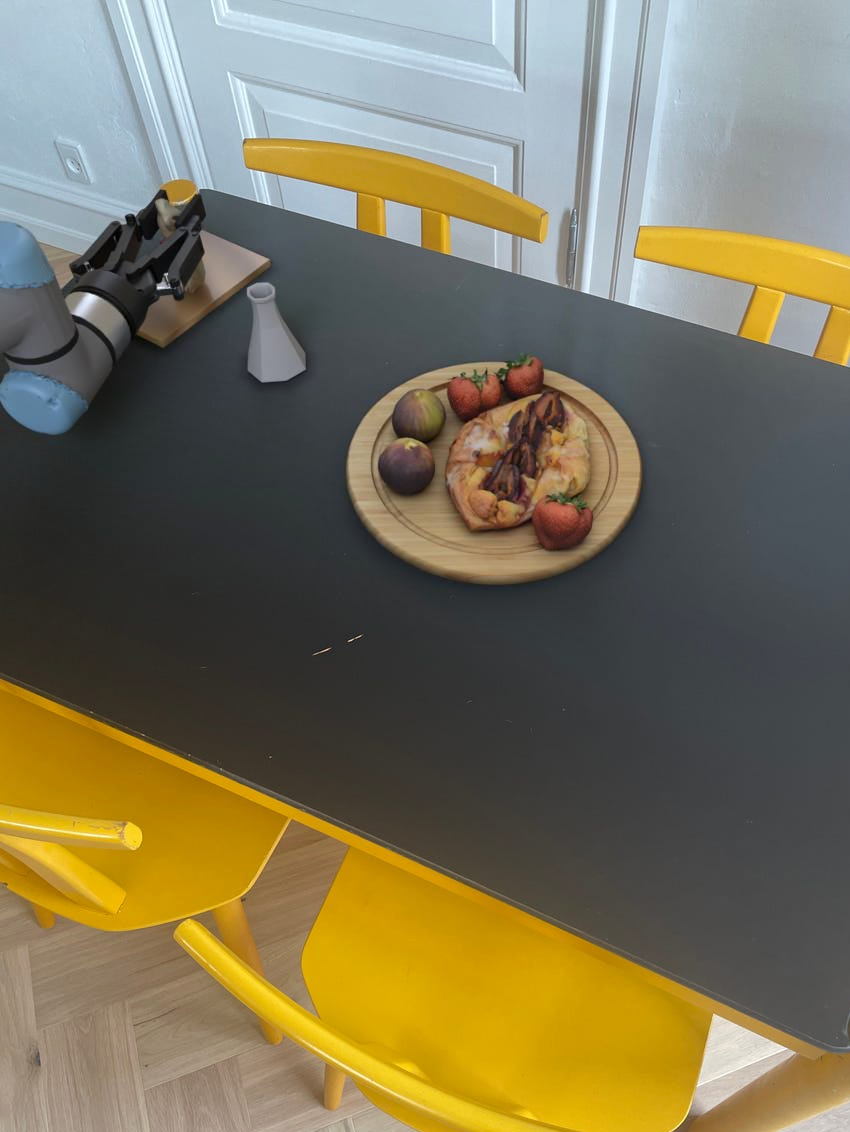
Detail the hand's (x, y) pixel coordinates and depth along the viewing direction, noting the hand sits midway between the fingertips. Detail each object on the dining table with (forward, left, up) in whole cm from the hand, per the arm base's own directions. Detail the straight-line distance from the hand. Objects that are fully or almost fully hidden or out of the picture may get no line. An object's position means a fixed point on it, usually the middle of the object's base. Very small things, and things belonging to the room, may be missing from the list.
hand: (183, 202), depth 110 cm
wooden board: (-1, -5, -8) cm, 10 cm away
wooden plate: (+37, -39, -9) cm, 54 cm away
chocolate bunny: (0, -5, -6) cm, 8 cm away
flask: (+12, -20, -9) cm, 25 cm away
